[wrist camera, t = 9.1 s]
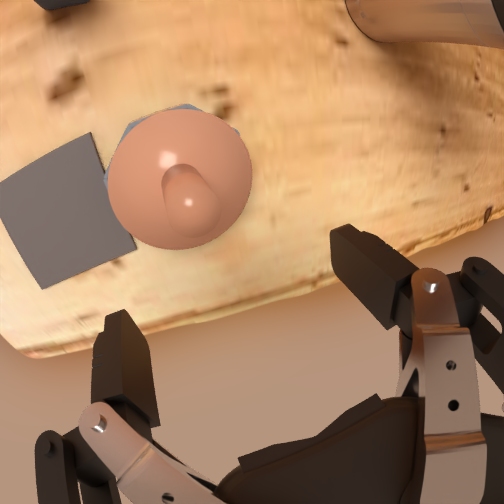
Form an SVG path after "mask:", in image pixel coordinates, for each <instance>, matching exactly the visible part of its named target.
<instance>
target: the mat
mask: <svg viewBox="0 0 504 504" xmlns="http://www.w3.org/2000/svg"><path fill="white" fill-rule="evenodd" d="M104 175H105V171H104V169H103V166H102V163H101V161H100V158H99V155H98V152H97V149H96V147H95V144H94V141H93V138H92V135H91V132H89V133H87V134H85V135H83V136H81V137H79V138H77V139H75V140H73V141H71V142H69V143H67V144H65V145H63V146H61V147H59V148H57V149H55V150H53V151H52V152H50V153H48V154H46V155H44V156H42V157H41V158H39V159H37V160H36V161H34V162H32V163H30V164H29V165H27V166H25V167H24V168H22V169H21V170H19V171H17V172H16V173H14V174H13V175H11V176H10V177H8V178H7V179H5V180H4V181H2V182H1V183H0V218H1V220H2V222H3V224H4V226H5V228H6V230H7V232H8V234H9V236H10V238H11V239H12V241H13V243H14V245H15V247H16V248H17V250H18V252H19V254H20V255H21V257H22V259H23V261H24V262H25V264H26V266H27V267H28V269H29V270H30V272H31V274H32V275H33V277H34V278H35V280H36V281H37V283H38V284H39V286H40V287H41V289H42V290H43V289H45V288H47V287H49V286H51V285H54V284H56V283H58V282H60V281H63V280H65V279H67V278H69V277H72V276H74V275H76V274H79V273H81V272H83V271H85V270H88V269H90V268H92V267H95V266H97V265H100V264H102V263H104V262H107V261H109V260H112V259H114V258H116V257H119V256H121V255H124V254H126V253H129V252H131V251H134V250H136V244H135V242H134V240H133V238H132V236H131V234H130V233H129V232H128V231H126V230H125V229H124V228H123V226H122V225H121V223H120V222H119V220H118V219H117V217H116V215H115V213H114V211H113V209H112V206H111V203H110V200H109V195H108V191H107V188H106V186H105V183H104V181H103V180H104Z"/></svg>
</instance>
